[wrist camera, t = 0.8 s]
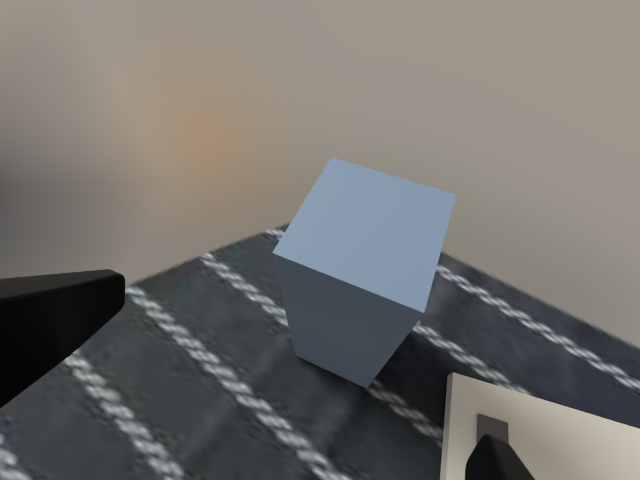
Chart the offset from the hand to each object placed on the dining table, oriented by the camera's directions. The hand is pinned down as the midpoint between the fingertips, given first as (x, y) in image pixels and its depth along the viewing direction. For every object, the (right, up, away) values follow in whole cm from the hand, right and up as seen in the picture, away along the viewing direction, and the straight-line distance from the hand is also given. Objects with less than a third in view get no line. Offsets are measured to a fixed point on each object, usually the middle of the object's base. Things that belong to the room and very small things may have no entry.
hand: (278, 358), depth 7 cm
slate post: (+3, -4, +14) cm, 15 cm away
